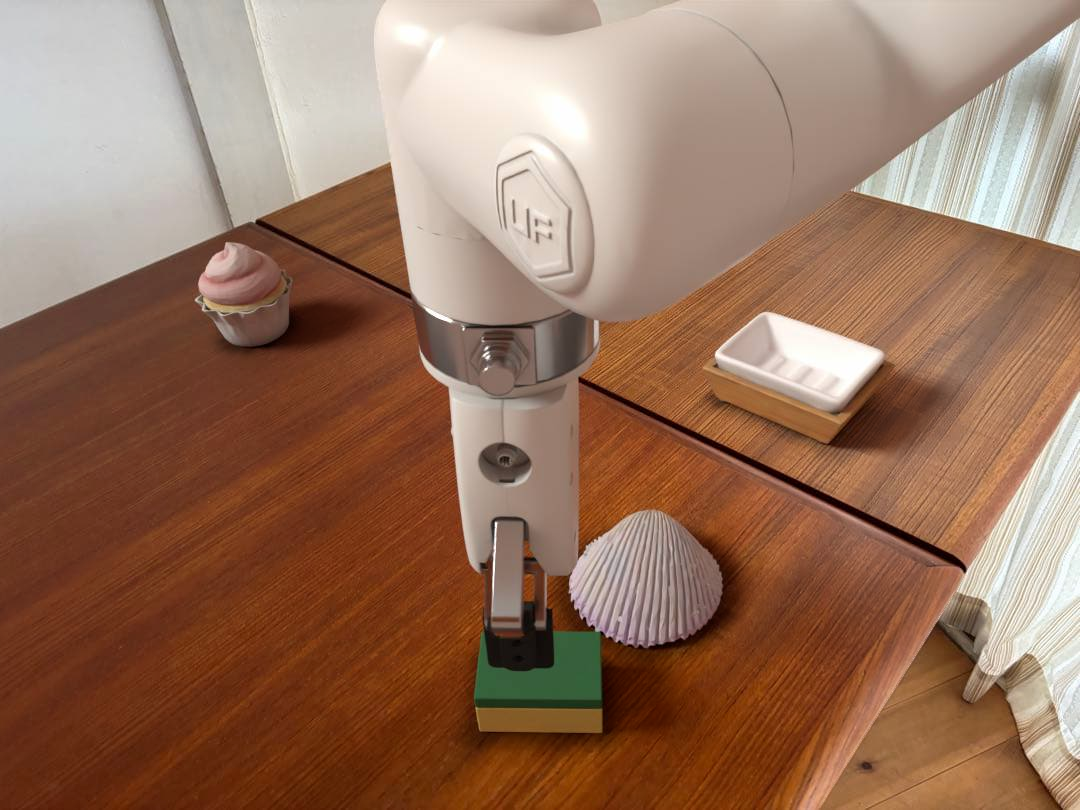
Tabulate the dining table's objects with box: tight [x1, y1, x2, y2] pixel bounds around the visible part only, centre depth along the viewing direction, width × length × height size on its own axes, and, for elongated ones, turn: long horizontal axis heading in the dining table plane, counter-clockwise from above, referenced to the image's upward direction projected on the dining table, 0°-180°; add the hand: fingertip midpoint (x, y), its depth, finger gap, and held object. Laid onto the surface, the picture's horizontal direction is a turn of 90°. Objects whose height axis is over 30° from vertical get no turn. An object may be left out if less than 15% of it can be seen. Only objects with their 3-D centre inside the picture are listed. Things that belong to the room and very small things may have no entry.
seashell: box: [568, 509, 724, 649], centre depth 57 cm, size 10×6×10 cm
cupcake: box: [194, 241, 293, 348], centre depth 82 cm, size 9×9×10 cm
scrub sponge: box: [473, 630, 603, 734], centre depth 50 cm, size 7×5×4 cm, turn 88°
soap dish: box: [702, 311, 896, 445], centre depth 71 cm, size 12×10×5 cm
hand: (527, 583), depth 45 cm, fingers open, 9 cm apart
